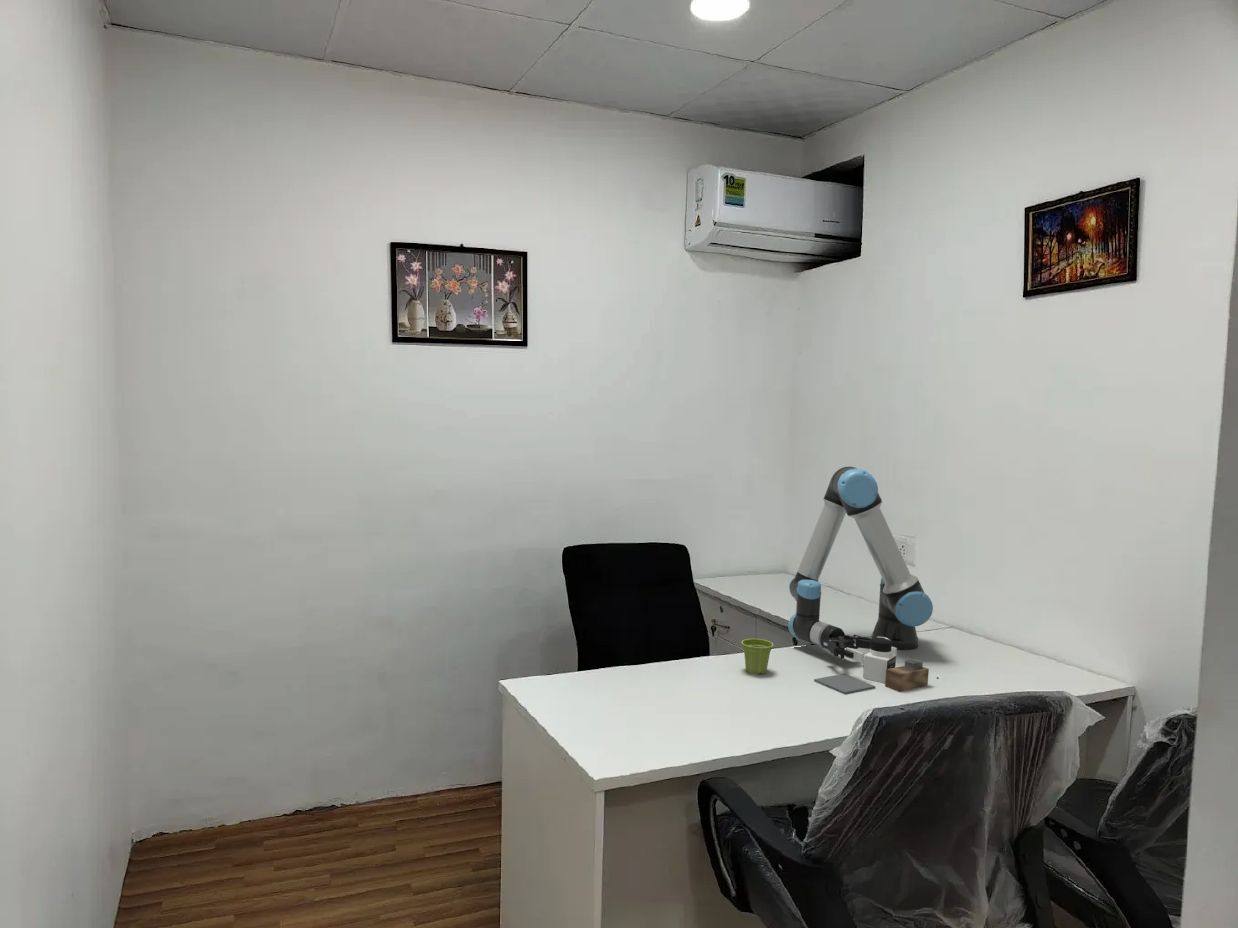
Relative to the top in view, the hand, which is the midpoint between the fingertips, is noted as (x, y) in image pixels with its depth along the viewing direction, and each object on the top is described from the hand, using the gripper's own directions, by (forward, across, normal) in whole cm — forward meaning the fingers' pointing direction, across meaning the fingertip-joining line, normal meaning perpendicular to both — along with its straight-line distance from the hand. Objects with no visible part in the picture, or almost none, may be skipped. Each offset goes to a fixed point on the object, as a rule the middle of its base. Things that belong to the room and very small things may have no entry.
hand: (879, 655), depth 246 cm
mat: (0, +13, -7) cm, 15 cm away
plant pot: (-20, +30, -7) cm, 36 cm away
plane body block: (+8, -3, -7) cm, 11 cm away
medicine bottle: (0, -1, -7) cm, 7 cm away
